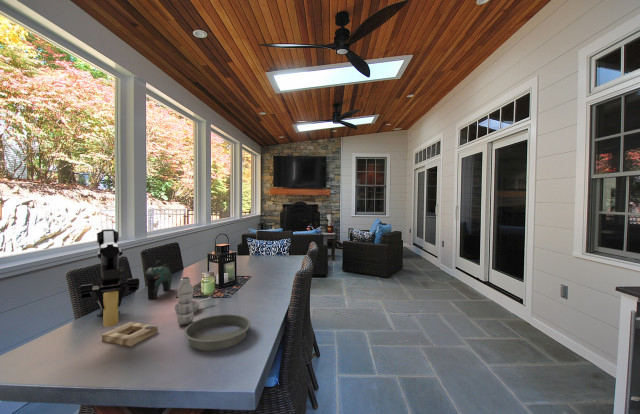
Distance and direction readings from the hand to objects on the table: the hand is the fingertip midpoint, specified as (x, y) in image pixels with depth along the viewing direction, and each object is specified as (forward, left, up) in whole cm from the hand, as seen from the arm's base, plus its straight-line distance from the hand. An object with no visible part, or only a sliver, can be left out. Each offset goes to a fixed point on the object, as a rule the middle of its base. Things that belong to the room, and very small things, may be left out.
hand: (111, 307), depth 105 cm
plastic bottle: (+14, +22, -14) cm, 30 cm away
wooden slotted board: (+2, +6, -13) cm, 15 cm away
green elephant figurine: (-29, +50, -14) cm, 60 cm away
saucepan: (+6, +37, -14) cm, 40 cm away
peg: (-1, +1, -7) cm, 7 cm away
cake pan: (+35, +16, -14) cm, 41 cm away
